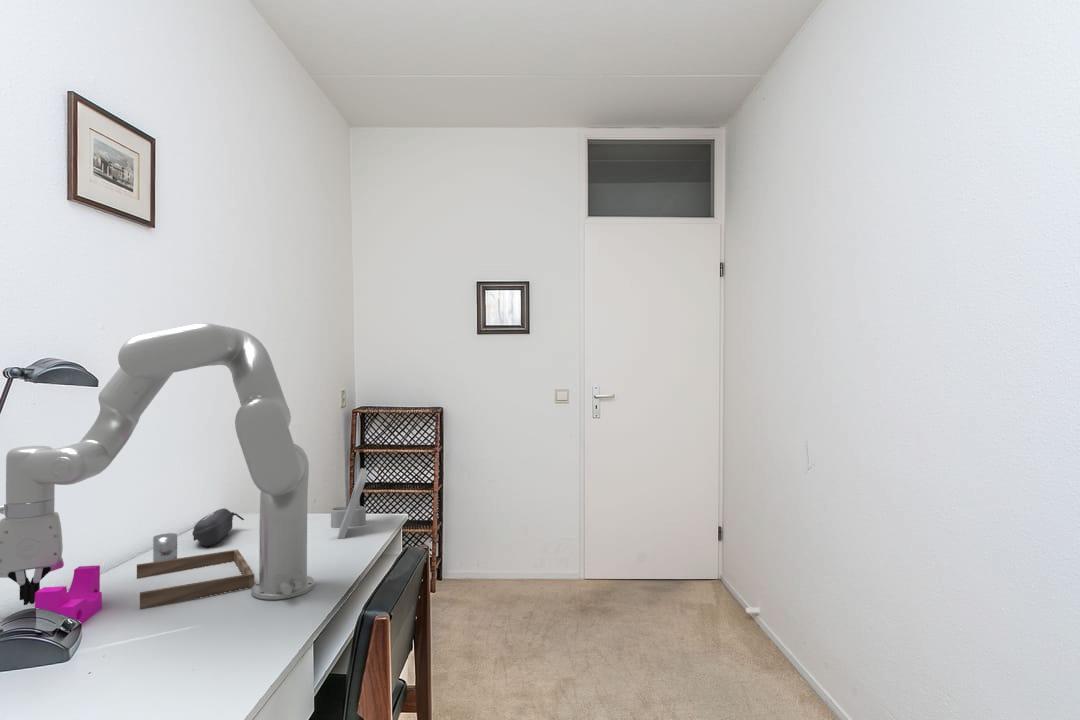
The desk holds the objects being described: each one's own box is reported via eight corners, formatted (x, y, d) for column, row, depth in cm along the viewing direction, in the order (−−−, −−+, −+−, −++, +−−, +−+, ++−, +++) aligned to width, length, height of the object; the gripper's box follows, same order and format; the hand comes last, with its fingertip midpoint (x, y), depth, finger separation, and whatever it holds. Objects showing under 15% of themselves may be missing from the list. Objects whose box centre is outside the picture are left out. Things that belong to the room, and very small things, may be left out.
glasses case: (206, 533, 181) (206, 506, 181) (245, 532, 183) (245, 505, 183) (184, 552, 163) (185, 522, 163) (228, 550, 166) (229, 520, 166)
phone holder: (330, 528, 186) (330, 468, 186) (366, 526, 189) (366, 466, 189) (327, 545, 170) (328, 478, 170) (366, 542, 172) (367, 476, 173)
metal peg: (177, 565, 152) (178, 536, 152) (153, 569, 149) (153, 540, 149) (176, 560, 156) (176, 532, 156) (152, 564, 154) (152, 535, 154)
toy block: (73, 631, 116) (73, 590, 116) (34, 633, 115) (35, 592, 115) (113, 601, 130) (113, 564, 130) (79, 603, 129) (79, 566, 129)
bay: (254, 588, 137) (254, 574, 137) (139, 609, 125) (139, 593, 126) (237, 561, 155) (237, 549, 156) (136, 577, 144) (136, 564, 144)
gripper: (-24, 518, 117) (-25, 617, 117) (76, 508, 126) (75, 600, 126) (-17, 510, 124) (-18, 604, 123) (78, 501, 132) (77, 589, 132)
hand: (29, 602), depth 125 cm, fingers closed
